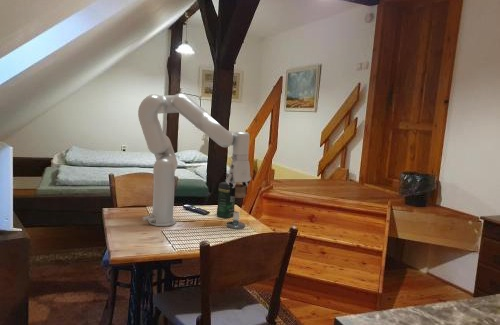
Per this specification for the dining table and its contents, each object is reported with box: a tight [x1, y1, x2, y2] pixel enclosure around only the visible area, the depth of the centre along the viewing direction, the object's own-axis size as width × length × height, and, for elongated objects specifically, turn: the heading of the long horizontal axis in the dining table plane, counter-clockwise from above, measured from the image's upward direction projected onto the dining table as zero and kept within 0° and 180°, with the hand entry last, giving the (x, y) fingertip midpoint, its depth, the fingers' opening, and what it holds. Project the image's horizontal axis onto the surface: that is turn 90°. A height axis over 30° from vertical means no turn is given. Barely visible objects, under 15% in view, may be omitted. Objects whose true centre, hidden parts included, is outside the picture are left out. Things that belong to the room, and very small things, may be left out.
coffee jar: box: [216, 181, 236, 219], centre depth 188 cm, size 10×8×19 cm
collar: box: [231, 184, 247, 199], centre depth 171 cm, size 7×7×5 cm
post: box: [225, 210, 246, 230], centre depth 172 cm, size 9×9×7 cm
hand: (238, 194), depth 171 cm, fingers closed on collar, 7 cm apart
